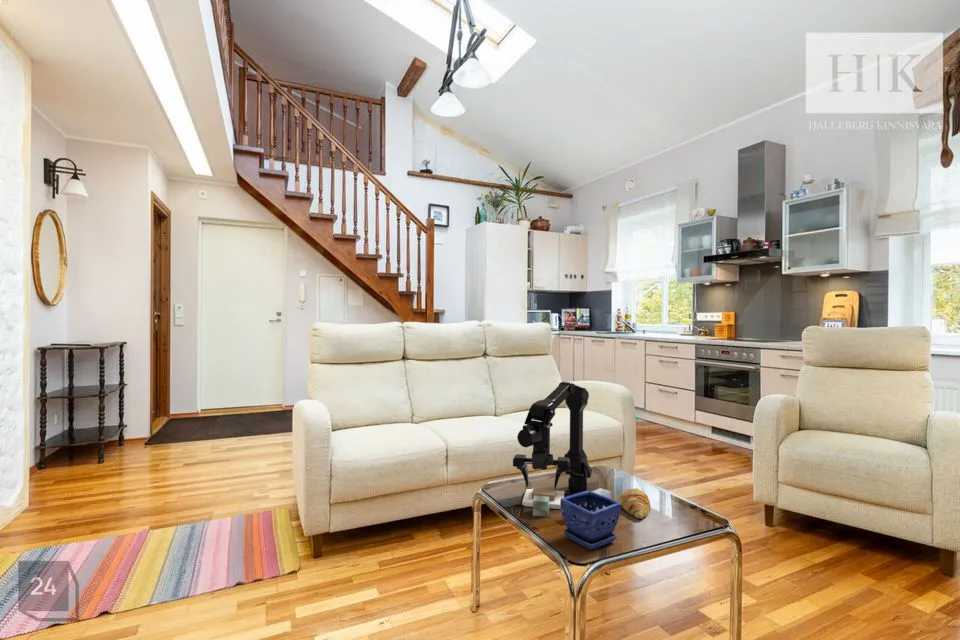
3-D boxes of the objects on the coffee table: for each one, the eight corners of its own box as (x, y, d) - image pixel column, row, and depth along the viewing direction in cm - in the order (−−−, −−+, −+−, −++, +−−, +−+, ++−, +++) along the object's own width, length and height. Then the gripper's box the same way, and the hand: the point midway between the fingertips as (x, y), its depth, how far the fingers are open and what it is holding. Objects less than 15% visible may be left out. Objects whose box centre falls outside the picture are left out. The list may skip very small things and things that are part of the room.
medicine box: (599, 513, 165) (599, 487, 165) (611, 517, 162) (611, 490, 162) (586, 519, 160) (586, 493, 160) (598, 524, 157) (598, 497, 157)
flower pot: (622, 542, 144) (623, 502, 143) (591, 555, 136) (592, 512, 136) (588, 527, 154) (588, 489, 154) (558, 537, 147) (558, 498, 147)
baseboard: (564, 495, 182) (564, 485, 182) (562, 509, 168) (562, 499, 168) (526, 492, 185) (527, 482, 185) (522, 505, 171) (522, 495, 171)
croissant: (649, 532, 158) (661, 511, 158) (621, 517, 159) (633, 496, 159) (636, 506, 179) (647, 487, 179) (612, 492, 180) (622, 474, 180)
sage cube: (549, 511, 167) (549, 496, 167) (547, 517, 162) (548, 502, 162) (534, 510, 168) (534, 495, 168) (532, 515, 163) (532, 500, 163)
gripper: (510, 445, 159) (510, 493, 159) (568, 449, 155) (568, 498, 155) (515, 437, 170) (515, 482, 170) (569, 440, 166) (569, 486, 166)
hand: (541, 487), depth 165 cm, fingers open, 9 cm apart
